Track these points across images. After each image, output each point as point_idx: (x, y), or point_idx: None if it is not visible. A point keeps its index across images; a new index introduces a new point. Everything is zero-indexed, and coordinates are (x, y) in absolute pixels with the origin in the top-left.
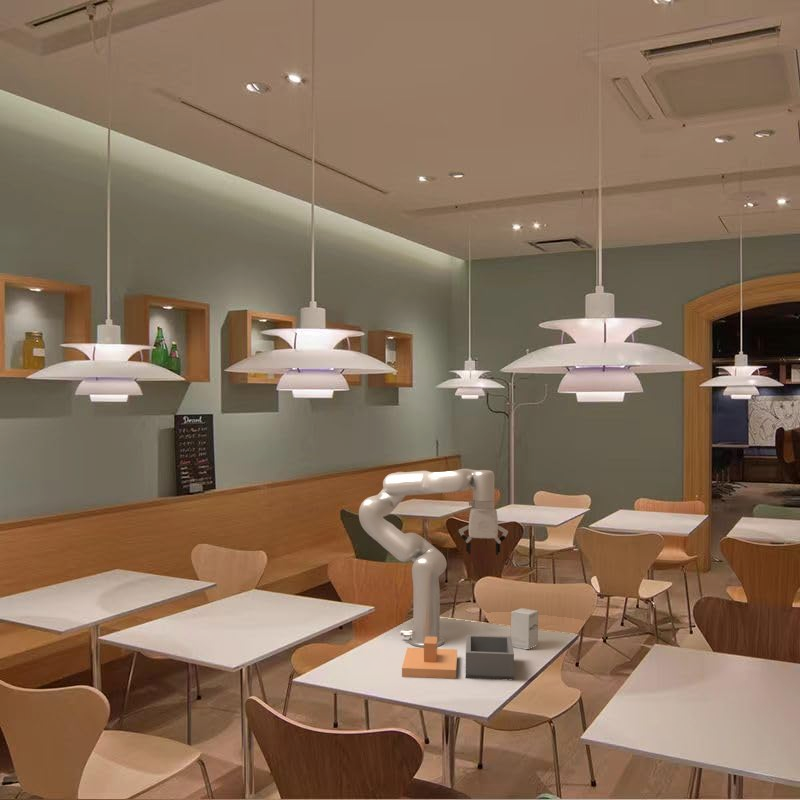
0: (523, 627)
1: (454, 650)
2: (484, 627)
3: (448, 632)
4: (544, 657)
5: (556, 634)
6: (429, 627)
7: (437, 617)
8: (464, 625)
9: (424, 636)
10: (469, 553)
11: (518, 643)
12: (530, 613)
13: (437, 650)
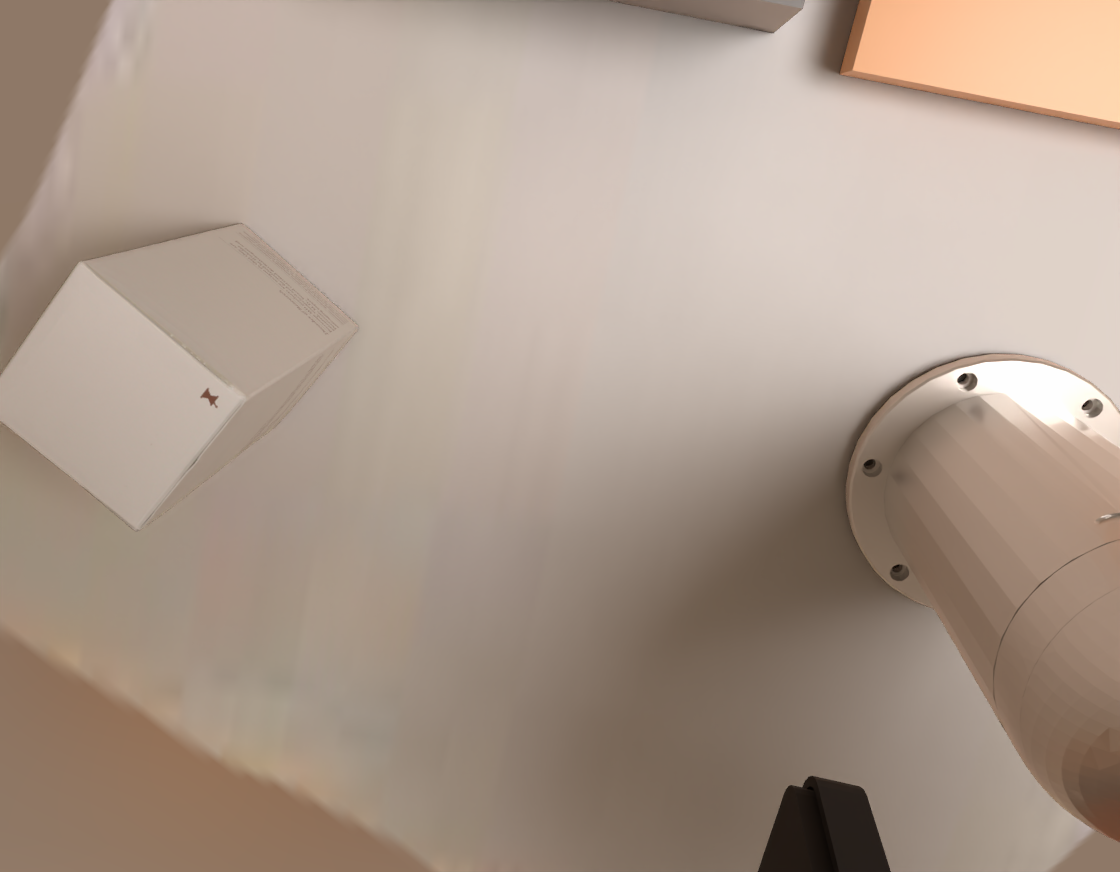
0: (199, 277)
1: (886, 38)
2: (464, 783)
3: (743, 707)
4: (147, 29)
5: (4, 580)
6: (1048, 431)
7: (984, 500)
8: (592, 841)
9: (1059, 413)
10: (828, 784)
11: (295, 284)
12: (61, 301)
13: (1042, 47)
